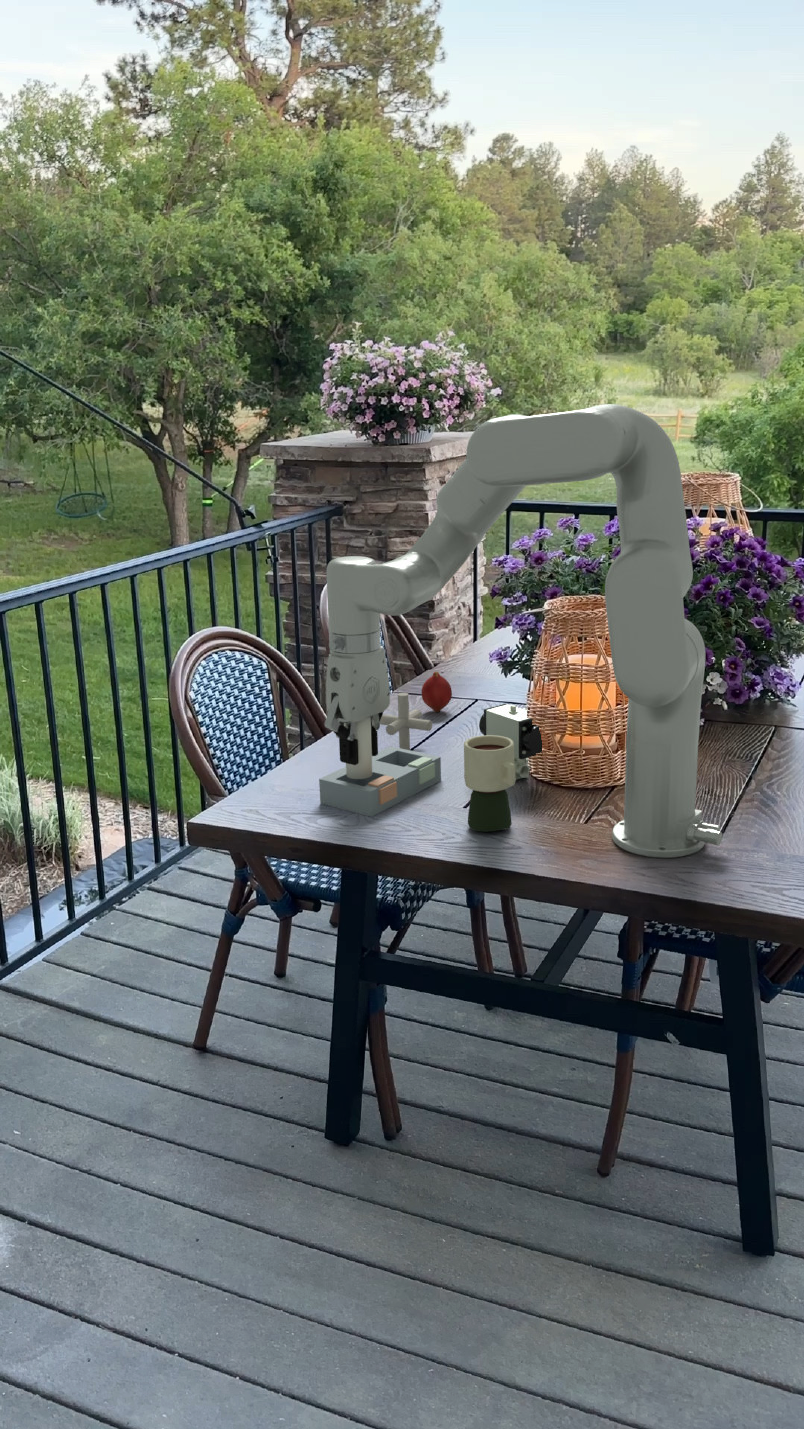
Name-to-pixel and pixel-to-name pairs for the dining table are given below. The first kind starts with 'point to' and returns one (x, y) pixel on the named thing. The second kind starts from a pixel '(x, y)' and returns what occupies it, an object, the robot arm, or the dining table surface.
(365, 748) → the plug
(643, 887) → the dining table surface
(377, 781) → the socket block
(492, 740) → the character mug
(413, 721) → the pipe connector
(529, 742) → the pneumatic valve
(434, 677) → the onion
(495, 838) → the dining table surface
